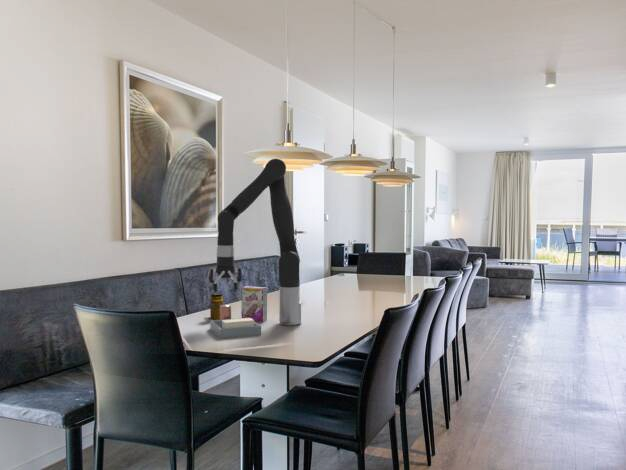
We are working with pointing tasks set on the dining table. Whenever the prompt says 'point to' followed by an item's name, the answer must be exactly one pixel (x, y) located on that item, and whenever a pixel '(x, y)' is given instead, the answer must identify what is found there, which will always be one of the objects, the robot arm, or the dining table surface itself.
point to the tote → (234, 330)
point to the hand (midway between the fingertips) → (225, 291)
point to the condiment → (215, 306)
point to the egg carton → (237, 323)
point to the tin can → (225, 312)
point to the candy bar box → (254, 303)
